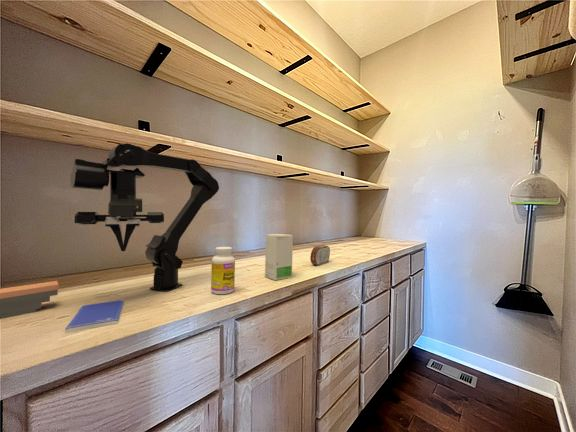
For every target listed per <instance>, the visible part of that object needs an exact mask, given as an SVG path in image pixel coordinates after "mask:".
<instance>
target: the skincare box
mask: <svg viewBox="0 0 576 432" xmlns="http://www.w3.org/2000/svg"><path fill="white" fill-rule="evenodd" d="M293 238H294V235H293V234H288V233H287V234H286V233H285V234H284V233H268V234H267V233H266V234H265V254H264V255H265V256H264V257H265V260H264V261H265V262H264V267H265V268H264V277H265V278H267V279H269V280H273V281H278V280H285V279H289V278H290V279H291V278H293Z"/></svg>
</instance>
